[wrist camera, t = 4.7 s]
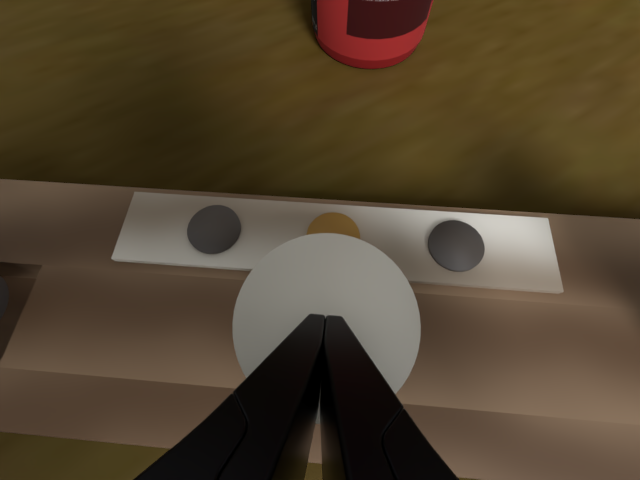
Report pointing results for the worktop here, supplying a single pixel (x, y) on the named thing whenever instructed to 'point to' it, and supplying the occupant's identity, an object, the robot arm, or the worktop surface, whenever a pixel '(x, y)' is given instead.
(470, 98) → the worktop surface
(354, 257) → the middle button
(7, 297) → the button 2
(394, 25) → the canned food
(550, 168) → the worktop surface
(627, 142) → the worktop surface
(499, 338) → the console
